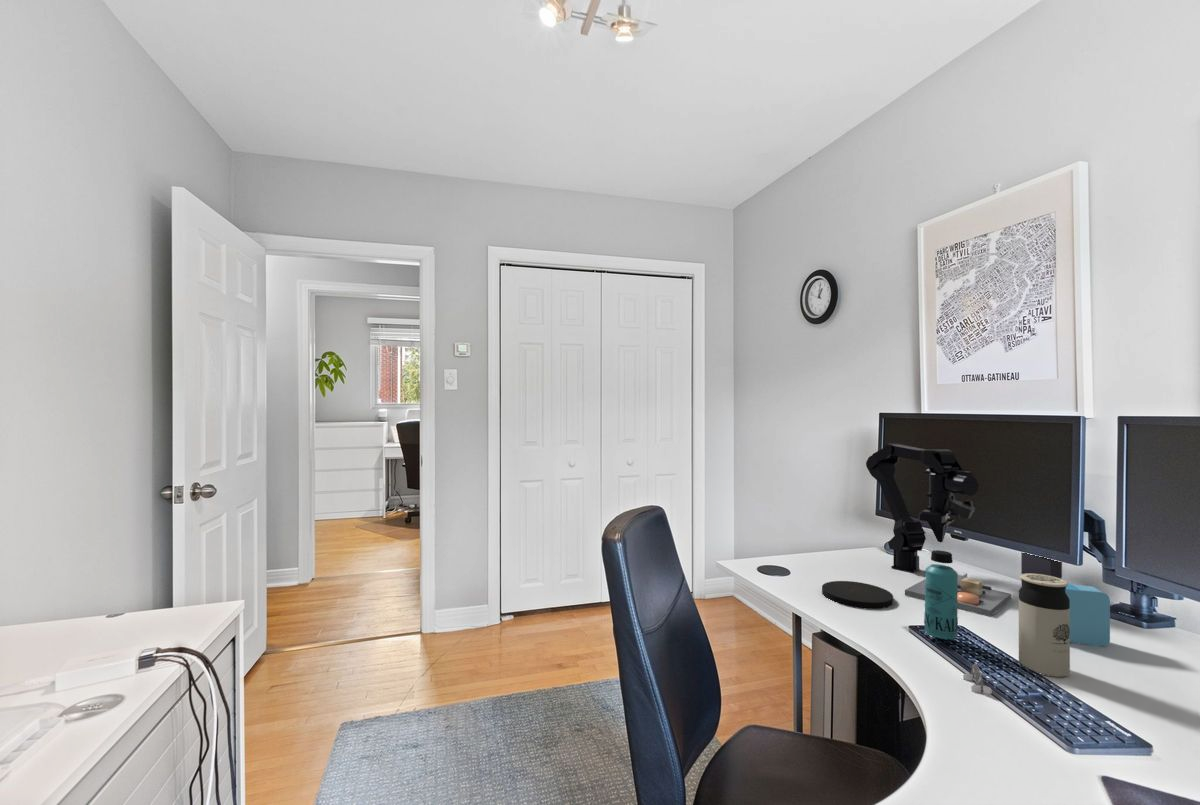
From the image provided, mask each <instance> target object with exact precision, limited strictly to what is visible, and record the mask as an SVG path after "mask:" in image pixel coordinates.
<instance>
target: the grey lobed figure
mask: <svg viewBox="0 0 1200 805" xmlns="http://www.w3.org/2000/svg"><path fill="white" fill-rule="evenodd" d="M970 670H971V671H970V672H971V673H964V674H963V675H962V676H963V677H962V678H963V680H965V681H971V682H973V683H974V684H973V685H971V687H970V688H971V692H975V693H981V694H988V695H989V694H990V695H993V694H992V688H991V687H990V686H985V685H984V680H983V677H982V676H981V675H982V674H981V670H980V668H979V666H978V664H976V663H975V662H974V663H973V665H971V667H970Z"/></svg>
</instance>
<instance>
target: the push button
mask: <svg viewBox="0 0 1200 805" xmlns="http://www.w3.org/2000/svg"><path fill="white" fill-rule="evenodd" d="M957 601H958V602H962V603H966V604H970V605H974V606H978V605H979V596H977V595H975V594H972V593H966V592H957Z"/></svg>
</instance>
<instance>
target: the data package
mask: <svg viewBox="0 0 1200 805" xmlns="http://www.w3.org/2000/svg"><path fill="white" fill-rule="evenodd" d="M1065 593H1066V594H1067V596H1068V598H1069V599H1070V642H1071V643H1070V644H1078V643H1080V645H1086V644H1088V645H1087V646H1094V645H1098V647H1105V646H1107V645H1109V644H1110V642H1111V632H1110V631H1111V598H1110V596H1109V595H1108V594H1107V593H1105V592H1103V591H1102V590H1100V589H1098V588H1096V587H1095V586H1091V585H1082V584H1081V585H1080V584H1079V585H1078V584H1072V583H1071V584H1070V583H1068V585H1067V586H1066V590H1065Z"/></svg>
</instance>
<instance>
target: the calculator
mask: <svg viewBox="0 0 1200 805" xmlns="http://www.w3.org/2000/svg"><path fill="white" fill-rule="evenodd" d="M1020 552H1021V551H1020ZM1020 554H1021V558H1020V559H1021V561H1020V562H1021V564H1020V565H1021V574H1020V575H1022V574H1042V575H1048V576H1052V577H1056V578H1060V579H1062V578H1063V561H1062V562H1058V561H1054V560H1051V559H1047V558H1044V557H1039V556H1035V555H1030V554H1027V553H1022V552H1021V553H1020ZM1020 579H1021V578H1020ZM1022 585H1023V583H1022V579H1021V586H1022Z"/></svg>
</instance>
